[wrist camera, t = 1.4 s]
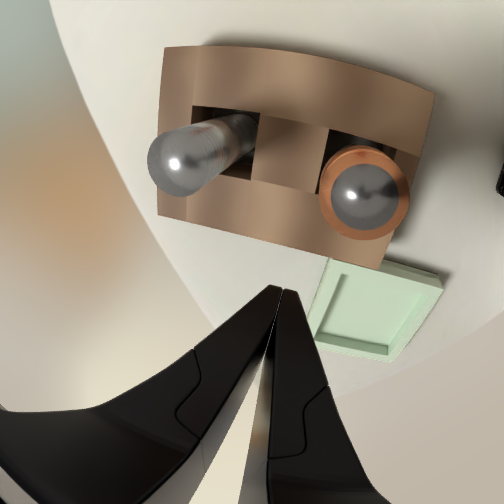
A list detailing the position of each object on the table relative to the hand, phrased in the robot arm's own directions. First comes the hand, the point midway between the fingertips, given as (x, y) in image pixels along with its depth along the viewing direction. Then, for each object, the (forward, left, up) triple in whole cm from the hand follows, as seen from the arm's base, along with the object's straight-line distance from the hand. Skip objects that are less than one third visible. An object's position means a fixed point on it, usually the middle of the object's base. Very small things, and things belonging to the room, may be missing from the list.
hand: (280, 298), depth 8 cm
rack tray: (-8, +10, -13) cm, 18 cm away
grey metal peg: (+6, -2, -13) cm, 14 cm away
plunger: (-2, -2, -10) cm, 10 cm away
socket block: (+2, -2, -13) cm, 13 cm away
